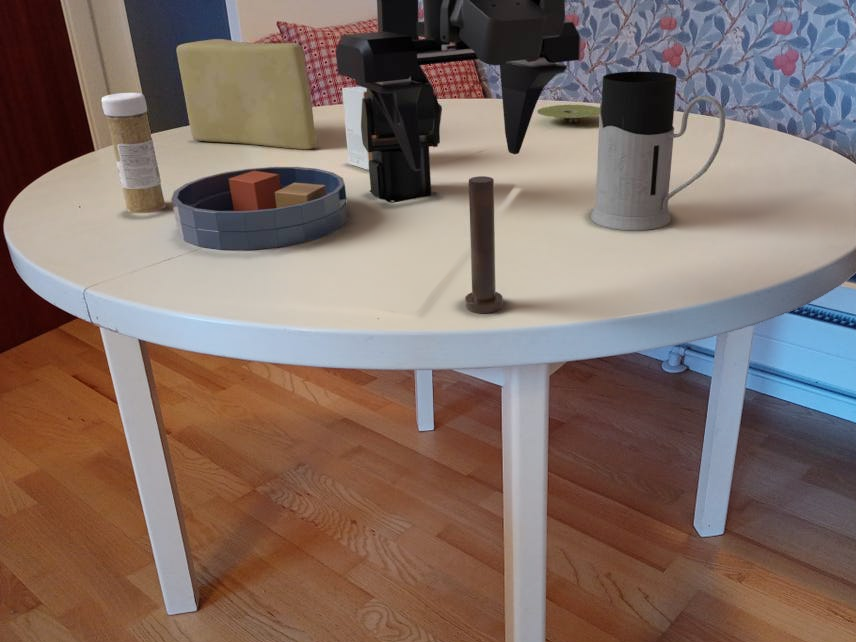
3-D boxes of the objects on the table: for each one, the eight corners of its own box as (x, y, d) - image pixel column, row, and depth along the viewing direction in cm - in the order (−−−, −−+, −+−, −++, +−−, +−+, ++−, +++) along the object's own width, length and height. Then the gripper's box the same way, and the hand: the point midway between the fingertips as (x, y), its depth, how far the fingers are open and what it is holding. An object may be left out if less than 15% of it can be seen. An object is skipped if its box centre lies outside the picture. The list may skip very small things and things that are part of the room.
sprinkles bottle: (133, 207, 99) (107, 92, 93) (171, 205, 100) (148, 90, 94) (122, 218, 95) (94, 99, 89) (162, 216, 96) (137, 97, 90)
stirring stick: (501, 297, 72) (499, 173, 67) (504, 312, 69) (502, 183, 64) (464, 299, 72) (460, 174, 67) (466, 314, 69) (461, 185, 64)
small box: (369, 172, 112) (362, 91, 107) (347, 164, 116) (340, 87, 111) (417, 161, 116) (412, 84, 112) (394, 155, 120) (389, 80, 115)
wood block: (298, 217, 92) (294, 182, 90) (330, 220, 91) (326, 185, 89) (279, 228, 89) (274, 192, 87) (311, 231, 88) (306, 195, 86)
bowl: (314, 195, 102) (310, 159, 100) (374, 234, 88) (370, 193, 86) (164, 221, 94) (156, 182, 92) (203, 268, 80) (195, 224, 78)
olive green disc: (611, 117, 141) (612, 105, 140) (593, 130, 132) (594, 118, 131) (549, 114, 145) (549, 102, 144) (527, 127, 136) (527, 115, 135)
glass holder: (618, 201, 97) (626, 68, 90) (730, 224, 88) (748, 79, 81) (575, 220, 91) (579, 78, 84) (691, 246, 82) (706, 91, 76)
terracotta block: (234, 212, 94) (228, 178, 93) (258, 203, 97) (253, 170, 96) (259, 217, 93) (254, 182, 91) (284, 208, 96) (279, 174, 94)
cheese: (335, 142, 129) (325, 40, 122) (292, 156, 121) (278, 48, 114) (235, 130, 139) (220, 35, 132) (190, 141, 132) (171, 42, 125)
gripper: (390, -50, 49) (407, 204, 56) (631, -58, 57) (619, 164, 65) (322, -50, 58) (344, 170, 65) (541, -57, 66) (539, 139, 73)
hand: (466, 161), depth 67 cm, fingers open, 9 cm apart
